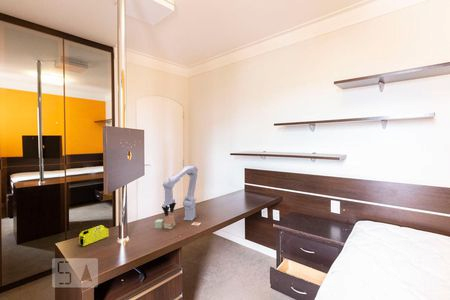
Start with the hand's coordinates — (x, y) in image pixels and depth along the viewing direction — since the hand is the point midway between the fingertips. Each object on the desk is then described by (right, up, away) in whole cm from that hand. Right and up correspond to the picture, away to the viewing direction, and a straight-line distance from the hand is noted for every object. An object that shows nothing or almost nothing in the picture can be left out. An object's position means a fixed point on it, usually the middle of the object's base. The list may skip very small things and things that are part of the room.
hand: (169, 213), depth 165 cm
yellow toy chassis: (-44, -12, -22) cm, 50 cm away
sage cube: (-8, -10, 0) cm, 13 cm away
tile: (+20, -9, +5) cm, 22 cm away
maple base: (0, -10, 0) cm, 10 cm away
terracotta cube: (0, -7, 0) cm, 7 cm away
